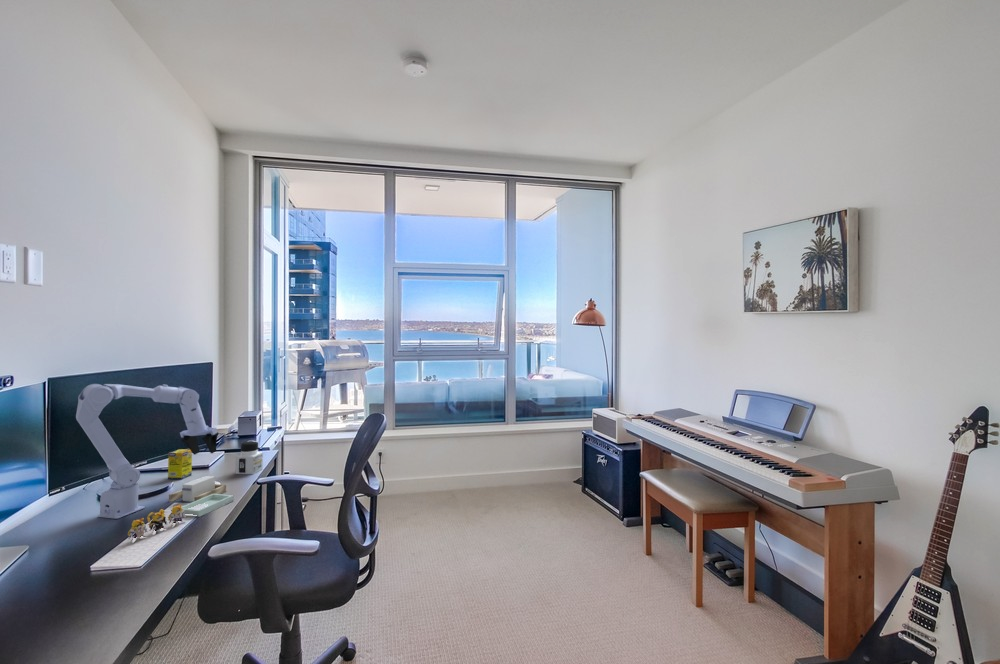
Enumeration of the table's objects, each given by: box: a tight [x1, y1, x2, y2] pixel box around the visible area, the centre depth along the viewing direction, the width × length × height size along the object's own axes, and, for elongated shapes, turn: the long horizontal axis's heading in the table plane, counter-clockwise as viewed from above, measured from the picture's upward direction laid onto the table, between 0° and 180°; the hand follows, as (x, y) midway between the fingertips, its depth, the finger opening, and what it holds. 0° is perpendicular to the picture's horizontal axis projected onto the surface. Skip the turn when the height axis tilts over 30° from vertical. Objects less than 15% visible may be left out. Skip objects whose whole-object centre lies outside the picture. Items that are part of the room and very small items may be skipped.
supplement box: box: [167, 448, 193, 480], centre depth 188 cm, size 6×6×11 cm
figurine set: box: [127, 504, 187, 540], centre depth 137 cm, size 3×16×7 cm, turn 161°
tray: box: [181, 493, 235, 518], centre depth 156 cm, size 15×9×2 cm, turn 168°
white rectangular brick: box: [181, 475, 216, 503], centre depth 166 cm, size 11×4×6 cm, turn 169°
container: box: [235, 440, 264, 475], centre depth 196 cm, size 8×8×13 cm
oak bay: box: [168, 483, 227, 503], centre depth 166 cm, size 13×12×2 cm
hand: (205, 452), depth 170 cm, fingers open, 7 cm apart
